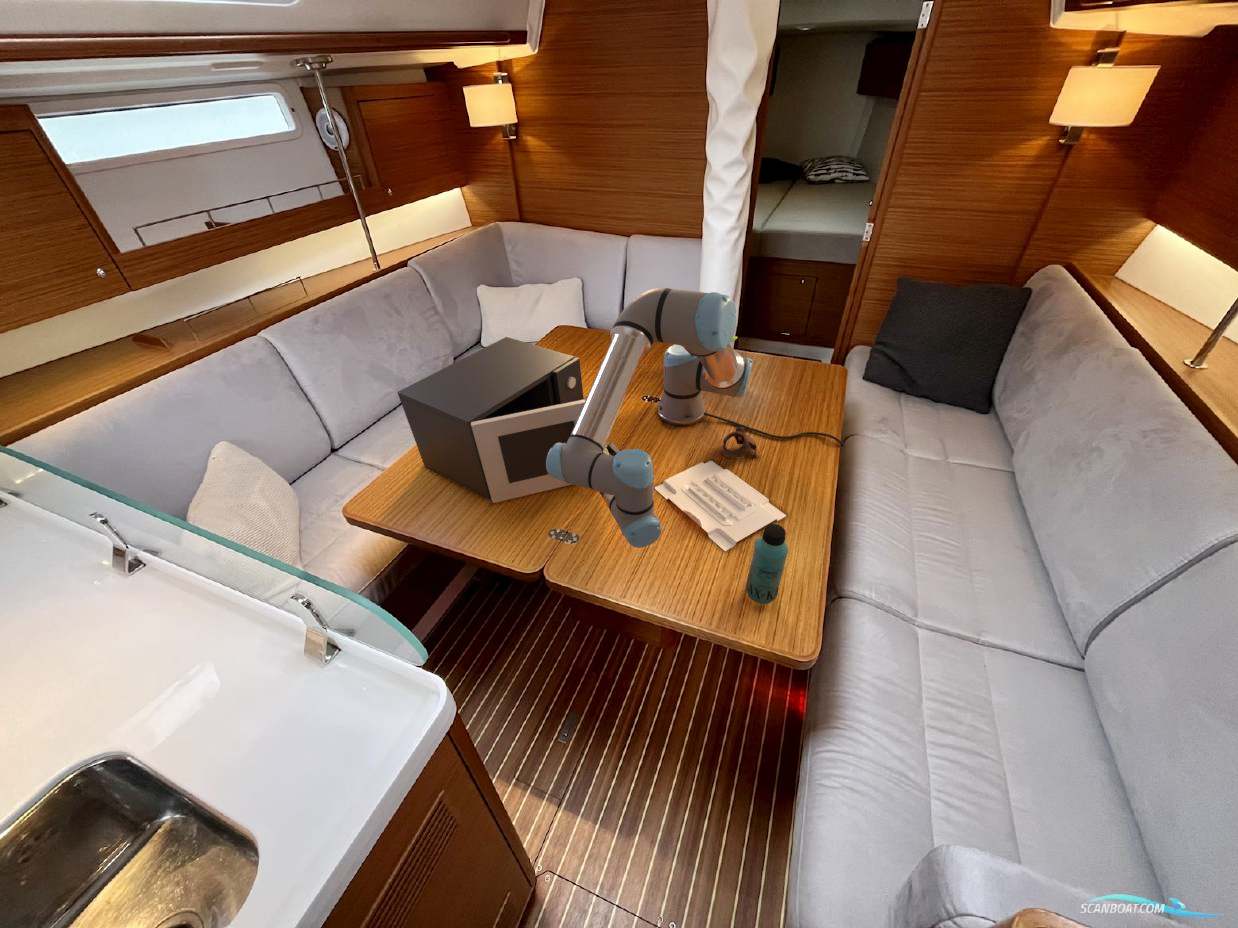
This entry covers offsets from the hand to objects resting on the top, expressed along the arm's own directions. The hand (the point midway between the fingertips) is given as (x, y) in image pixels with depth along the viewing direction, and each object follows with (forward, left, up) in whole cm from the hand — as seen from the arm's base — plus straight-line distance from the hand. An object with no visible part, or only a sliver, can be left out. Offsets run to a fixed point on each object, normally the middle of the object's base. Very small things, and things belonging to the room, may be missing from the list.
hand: (584, 435), depth 126 cm
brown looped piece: (-29, -34, -16) cm, 47 cm away
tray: (-33, -12, -16) cm, 38 cm away
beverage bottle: (-54, +10, -16) cm, 57 cm away
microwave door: (+6, +10, -16) cm, 20 cm away
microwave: (+31, 0, -16) cm, 35 cm away
